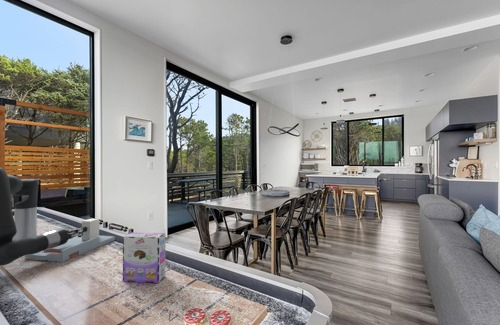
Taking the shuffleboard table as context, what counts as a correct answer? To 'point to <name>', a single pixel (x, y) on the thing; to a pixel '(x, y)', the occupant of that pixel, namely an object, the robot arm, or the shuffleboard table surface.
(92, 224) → the cream block
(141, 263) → the candy box
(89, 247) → the trough
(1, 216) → the robot arm
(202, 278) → the shuffleboard table surface
